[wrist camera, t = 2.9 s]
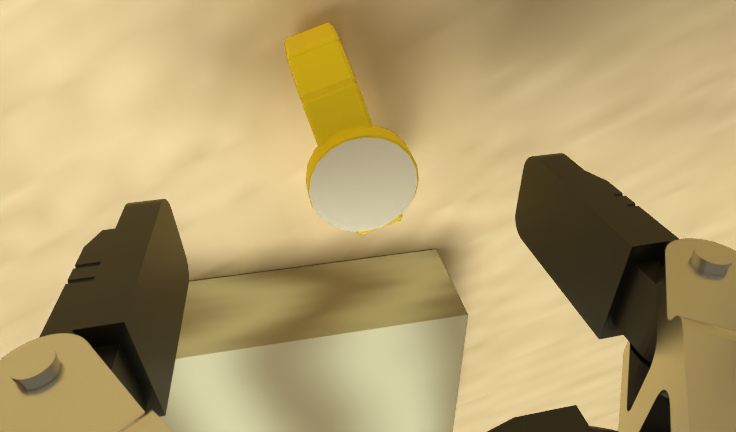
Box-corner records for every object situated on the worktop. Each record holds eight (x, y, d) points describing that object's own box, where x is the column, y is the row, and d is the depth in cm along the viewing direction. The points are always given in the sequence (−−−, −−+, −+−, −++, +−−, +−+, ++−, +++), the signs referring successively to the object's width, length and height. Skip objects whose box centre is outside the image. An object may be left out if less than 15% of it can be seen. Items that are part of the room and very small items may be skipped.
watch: (393, 152, 18) (443, 255, 14) (325, 178, 18) (352, 289, 14) (342, -7, 14) (387, 61, 10) (257, 26, 15) (263, 108, 10)
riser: (436, 249, 21) (468, 314, 18) (424, 414, 27) (445, 483, 24) (148, 287, 19) (124, 366, 16) (210, 452, 26) (202, 532, 23)
